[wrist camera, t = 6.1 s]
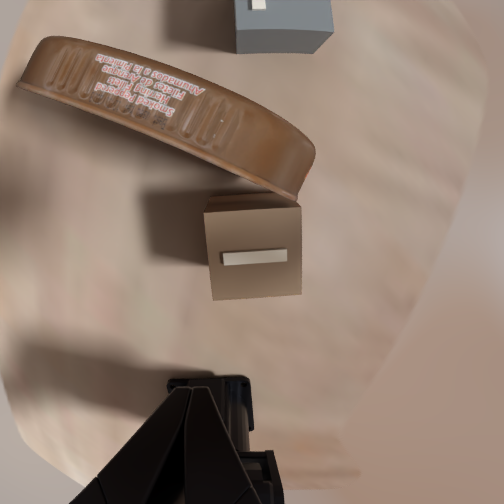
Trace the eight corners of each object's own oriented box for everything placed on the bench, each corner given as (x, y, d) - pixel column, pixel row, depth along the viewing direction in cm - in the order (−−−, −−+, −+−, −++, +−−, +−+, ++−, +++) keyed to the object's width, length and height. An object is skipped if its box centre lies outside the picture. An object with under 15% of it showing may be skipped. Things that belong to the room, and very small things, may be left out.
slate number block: (312, 54, 16) (335, 30, 12) (236, 54, 16) (237, 28, 12) (306, -7, 15) (325, -41, 10) (233, -8, 14) (233, -45, 10)
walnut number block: (288, 262, 20) (302, 296, 16) (217, 266, 20) (212, 302, 16) (287, 191, 19) (302, 208, 15) (211, 196, 19) (202, 214, 14)
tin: (65, 100, 16) (-21, 90, 8) (85, 56, 15) (7, 22, 7) (279, 192, 19) (309, 231, 11) (303, 145, 18) (352, 151, 10)
